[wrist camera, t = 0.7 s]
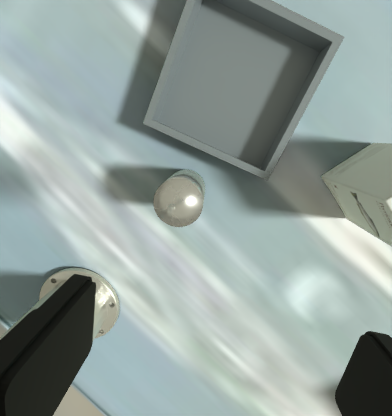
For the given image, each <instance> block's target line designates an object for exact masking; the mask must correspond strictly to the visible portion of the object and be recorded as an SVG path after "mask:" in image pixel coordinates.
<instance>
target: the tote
mask: <svg viewBox="0 0 392 416" xmlns="http://www.w3.org/2000/svg"><path fill="white" fill-rule="evenodd" d="M343 39H344V37H343V36H341V35H339V34H337V33H335V32H333V31H331V30H329V29H327V28H325V27H323V26H321V25H319V24H317V23H315V22H313V21H311V20H309V19H307V18H305V17H303V16H301V15H299V14H297V13H295V12H293V11H291V10H289V9H287V8H285V7H283V6H281V5H279V4H277V3H275V2H273V1H271V0H187V1H186V4H185V6H184V9H183V12H182V15H181V18H180V20H179V23H178V26H177V29H176V32H175V34H174V37H173V40H172V43H171V46H170V48H169V51H168V54H167V57H166V60H165V62H164V65H163V68H162V71H161V74H160V77H159V79H158V82H157V85H156V88H155V91H154V93H153V96H152V99H151V102H150V105H149V107H148V110H147V113H146V116H145V119H144V121H143V124H145V125H147V126H149V127H152V128H154V129H156V130H158V131H160V132H162V133H165V134H167V135H169V136H171V137H173V138H176V139H178V140H180V141H182V142H184V143H186V144H189V145H191V146H193V147H195V148H197V149H200V150H202V151H204V152H206V153H208V154H210V155H213V156H215V157H217V158H219V159H221V160H224V161H226V162H228V163H230V164H232V165H234V166H237V167H239V168H241V169H243V170H245V171H248V172H250V173H252V174H254V175H256V176H258V177H261V178H263V179H265V180H267V181H268V179H269V177H270V175H271V173H272V172H273V170H274V168H275V166H276V164H277V162H278V160H279V158H280V157H281V155H282V153H283V151H284V149H285V147H286V145H287V143H288V142H289V140H290V138H291V136H292V134H293V132H294V130H295V128H296V127H297V125H298V123H299V121H300V119H301V117H302V115H303V114H304V112H305V110H306V108H307V106H308V104H309V102H310V100H311V99H312V97H313V95H314V93H315V91H316V89H317V87H318V85H319V84H320V82H321V80H322V78H323V76H324V74H325V72H326V70H327V69H328V67H329V65H330V63H331V61H332V59H333V57H334V56H335V54H336V52H337V50H338V48H339V46H340V44H341V42H342V41H343Z"/></svg>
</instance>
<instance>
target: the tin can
mask: <svg viewBox="0 0 392 416" xmlns="http://www.w3.org/2000/svg"><path fill="white" fill-rule="evenodd" d="M204 195H205V184H204V181H203V179H202V177H201V176H200V175H199V174H198V173H196V172H194V171H192V170H187V169H184V170H180V171H177V172H175V173H174V174H173V175H172V176H171V177H169V178H168V179H167V180H166V181H165V182H164V183H163V184H161V185H160V186H159V188H158V189H157V190H156V193H155V195H154V202H153V203H154V209H155V212H156V213H157V215H158V217H159V218H160V219H161V220H162V221H163V222H165V223H166V224H168V225H171V226H175V227H183V226H187V225H190V224H192V223H193V222H194V221H196V220H197V218H198V217H199V216H200V214H201V212H202V208H203V202H204Z"/></svg>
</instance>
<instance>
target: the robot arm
mask: <svg viewBox="0 0 392 416" xmlns="http://www.w3.org/2000/svg"><path fill="white" fill-rule="evenodd" d="M119 310H120V306H119V300H118V296H117V294H116V292H115V290H114V289H113V287H112V286H111V285H110V284H109V283H108V282H107V281H106V280H105V279H104V278H103V277H101V276H100V275H98V274H96V273H94V272H92V271H90V270H86V269H82V268H67V269H63V270H60V271H58V272H56V273H54V274H53V275H52V276H51V277H49V278H48V279H47V280H46V281H45V282H44V284H43V286H42V288H41V291H40V295H39V301H38V302H37V303H36V304H35V305H34V306H33V307H32V308H31V309H30V310H29V311H28V312H27V313H26V314H24V315H23V316H22V317H21V318H20V319H19V320H18V321H17V322H16V323H15V324H14V325H13V326H12V327H10V328H9V329H8V330H7V331H6V332H5V333H4V334H3V335H2V336H1V337H0V416H53V414H54V412H55V411H56V409H57V407H58V406H59V404H60V402H61V400H62V399H63V397H64V395H65V394H66V392H67V390H68V388H69V387H70V385H71V383H72V382H73V380H74V378H75V376H76V375H77V373H78V371H79V370H80V368H81V366H82V364H83V363H84V361H85V359H86V358H87V356H88V354H89V352H90V350H91V347H92V342H93V340H94V339H95V338H98V337H100V336H103V335H104V334H106V333H107V332H109V331H110V330H111V329H112V327H113V326H114V324H115V322H116V321H117V318H118V316H119ZM335 399H336V403H337V405H338V408H339V410H340V412H341V414H342V416H392V338H391V337H390V336H389V335H386V334H382V333H377V332H371V331H368V332H366V333H365V334H364V335H362V336H361V337H360V338H359V341H358V343H357V345H356V347H355V349H354V352H353V354H352V356H351V358H350V361H349V363H348V365H347V367H346V369H345V372H344V374H343V376H342V378H341V381H340V383H339V385H338V387H337V389H336V392H335Z"/></svg>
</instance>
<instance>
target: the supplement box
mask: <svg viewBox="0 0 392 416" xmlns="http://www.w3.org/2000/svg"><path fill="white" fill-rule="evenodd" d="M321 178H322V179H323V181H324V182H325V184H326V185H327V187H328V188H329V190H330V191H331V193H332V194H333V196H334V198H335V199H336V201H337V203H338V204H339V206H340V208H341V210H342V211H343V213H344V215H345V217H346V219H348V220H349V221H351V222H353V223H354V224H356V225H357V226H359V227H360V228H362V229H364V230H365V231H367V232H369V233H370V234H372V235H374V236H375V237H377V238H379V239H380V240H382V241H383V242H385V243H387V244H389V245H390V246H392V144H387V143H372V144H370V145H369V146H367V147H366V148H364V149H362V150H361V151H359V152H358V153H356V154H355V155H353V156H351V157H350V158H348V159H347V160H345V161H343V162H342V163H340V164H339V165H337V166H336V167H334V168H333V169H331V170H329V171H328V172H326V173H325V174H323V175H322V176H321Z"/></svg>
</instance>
